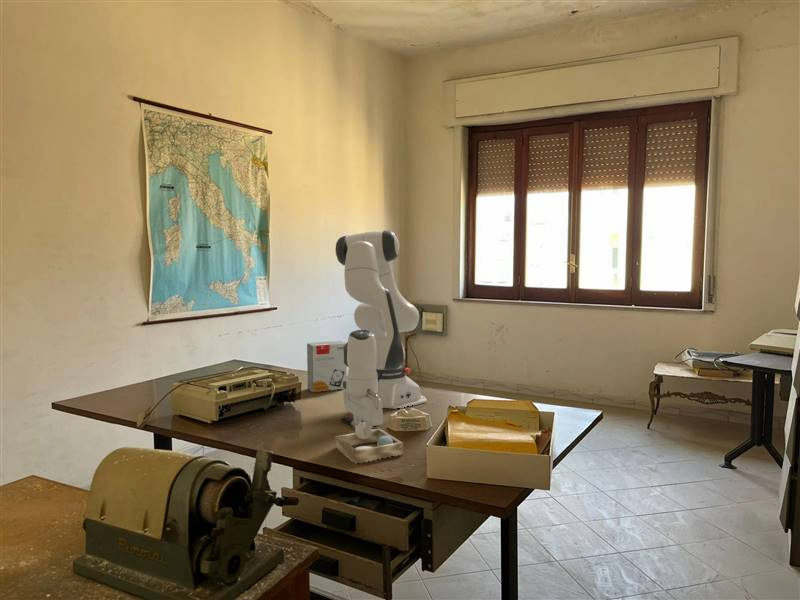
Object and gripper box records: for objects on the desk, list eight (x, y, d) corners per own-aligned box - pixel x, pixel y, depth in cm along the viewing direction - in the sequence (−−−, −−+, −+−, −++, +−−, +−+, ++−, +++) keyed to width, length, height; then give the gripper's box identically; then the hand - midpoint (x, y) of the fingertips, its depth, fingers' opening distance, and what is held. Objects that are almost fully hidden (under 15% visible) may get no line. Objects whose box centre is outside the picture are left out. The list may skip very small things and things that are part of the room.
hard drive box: (312, 393, 234) (310, 345, 232) (307, 389, 241) (306, 342, 239) (347, 389, 240) (346, 342, 239) (341, 385, 247) (340, 340, 246)
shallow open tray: (380, 439, 177) (380, 428, 176) (403, 454, 163) (402, 442, 163) (335, 447, 170) (335, 436, 169) (355, 464, 156) (355, 452, 156)
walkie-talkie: (335, 425, 193) (381, 436, 181) (335, 412, 192) (380, 422, 180) (353, 418, 200) (397, 429, 188) (352, 406, 199) (397, 416, 187)
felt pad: (369, 445, 171) (369, 444, 171) (377, 452, 166) (377, 451, 166) (350, 449, 168) (350, 448, 168) (358, 455, 163) (358, 454, 163)
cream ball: (367, 434, 170) (367, 419, 169) (374, 439, 165) (373, 423, 165) (352, 437, 167) (352, 421, 167) (359, 442, 163) (358, 426, 163)
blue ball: (388, 447, 169) (388, 432, 168) (396, 453, 165) (396, 437, 164) (374, 450, 167) (374, 435, 166) (381, 455, 162) (381, 439, 162)
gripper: (388, 392, 157) (388, 440, 159) (358, 378, 175) (359, 421, 177) (367, 395, 154) (368, 444, 156) (339, 380, 172) (340, 424, 174)
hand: (363, 432), depth 166 cm, fingers closed on cream ball, 5 cm apart
